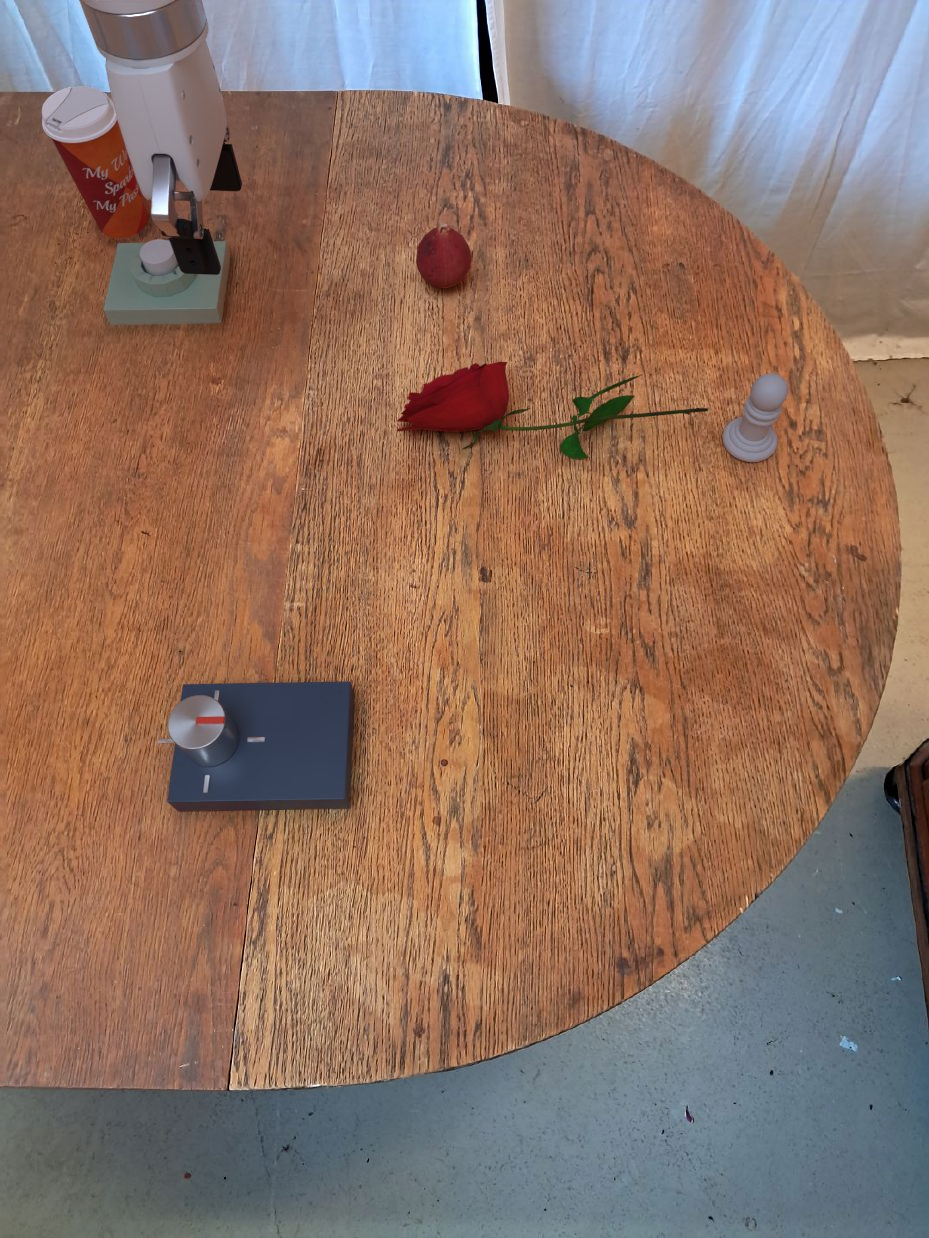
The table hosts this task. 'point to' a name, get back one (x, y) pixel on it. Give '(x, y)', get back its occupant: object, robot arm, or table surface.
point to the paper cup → (96, 157)
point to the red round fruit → (443, 257)
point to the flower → (501, 406)
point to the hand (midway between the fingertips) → (213, 229)
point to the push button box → (164, 291)
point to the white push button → (158, 257)
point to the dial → (203, 730)
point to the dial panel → (273, 749)
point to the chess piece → (757, 420)
